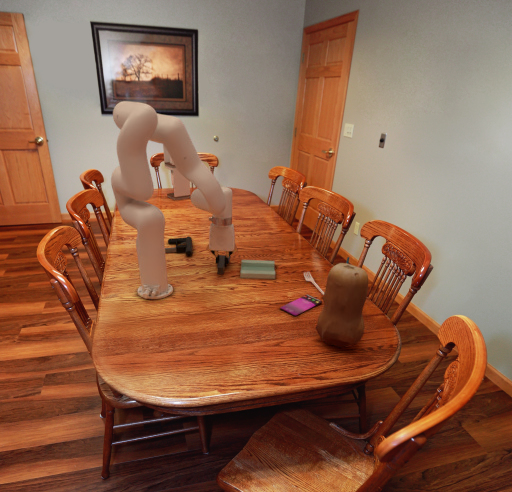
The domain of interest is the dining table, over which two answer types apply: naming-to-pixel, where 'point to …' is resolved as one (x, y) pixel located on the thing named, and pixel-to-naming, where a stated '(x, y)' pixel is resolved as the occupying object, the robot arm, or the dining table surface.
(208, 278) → the dining table surface
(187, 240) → the submachine gun
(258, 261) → the spoon rest
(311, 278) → the fork
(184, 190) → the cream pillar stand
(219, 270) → the spatula
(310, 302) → the smartphone
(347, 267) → the butternut squash
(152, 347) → the dining table surface
